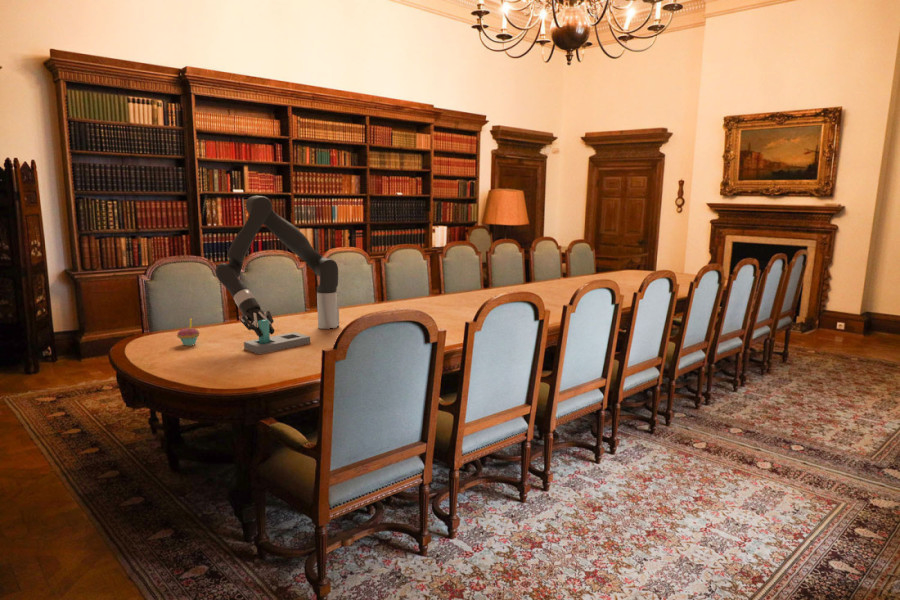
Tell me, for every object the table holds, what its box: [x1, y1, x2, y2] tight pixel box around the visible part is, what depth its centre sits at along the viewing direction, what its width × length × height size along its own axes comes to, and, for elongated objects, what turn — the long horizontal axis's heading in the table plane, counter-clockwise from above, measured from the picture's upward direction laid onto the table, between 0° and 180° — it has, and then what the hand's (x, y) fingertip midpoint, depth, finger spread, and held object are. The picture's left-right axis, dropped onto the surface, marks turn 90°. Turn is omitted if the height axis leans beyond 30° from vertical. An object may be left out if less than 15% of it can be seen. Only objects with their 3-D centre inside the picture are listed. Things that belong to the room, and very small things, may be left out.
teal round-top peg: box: [257, 319, 271, 344], centre depth 237 cm, size 4×4×12 cm
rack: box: [243, 331, 311, 355], centre depth 242 cm, size 24×12×3 cm, turn 137°
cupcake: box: [176, 317, 200, 346], centre depth 243 cm, size 9×8×12 cm
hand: (267, 334), depth 236 cm, fingers open, 5 cm apart
